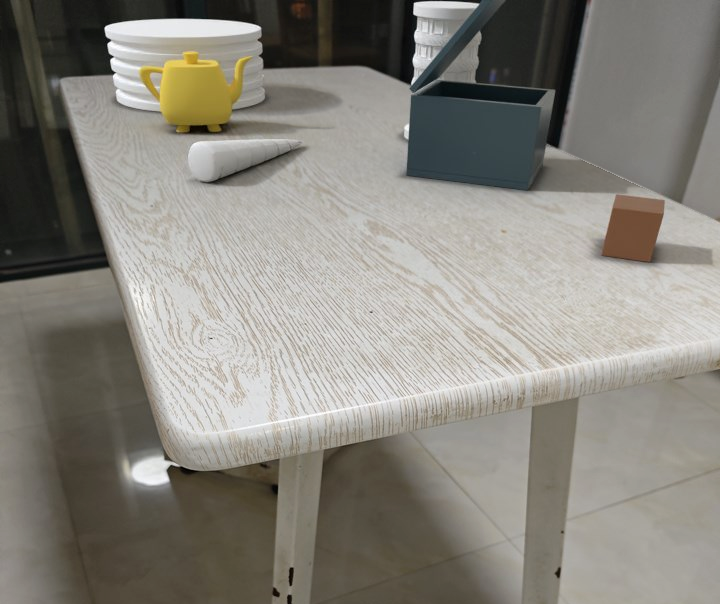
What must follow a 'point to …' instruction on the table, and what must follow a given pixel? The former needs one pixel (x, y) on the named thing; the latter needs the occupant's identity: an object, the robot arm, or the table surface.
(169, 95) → the teapot
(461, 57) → the decorative container
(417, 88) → the lid
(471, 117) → the slate grey rectangular box
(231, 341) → the table surface
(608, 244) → the carton
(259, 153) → the unicorn horn
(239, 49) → the plate stack
